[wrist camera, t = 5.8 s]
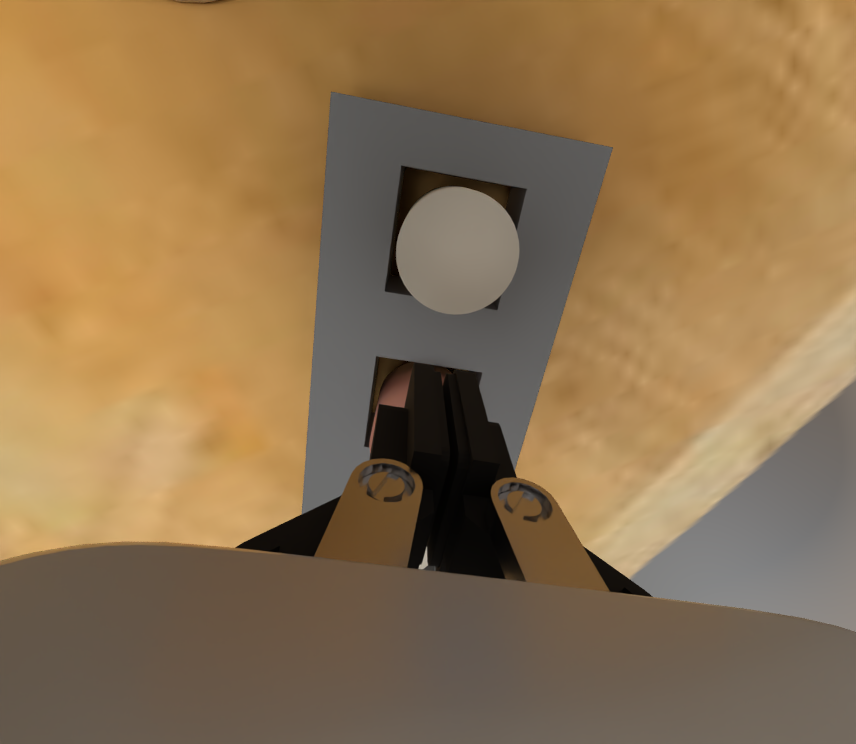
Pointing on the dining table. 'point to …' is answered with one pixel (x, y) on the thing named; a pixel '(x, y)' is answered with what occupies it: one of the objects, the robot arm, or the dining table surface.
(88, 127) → the dining table surface
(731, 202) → the dining table surface
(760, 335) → the dining table surface
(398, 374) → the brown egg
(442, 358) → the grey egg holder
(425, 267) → the near knob
